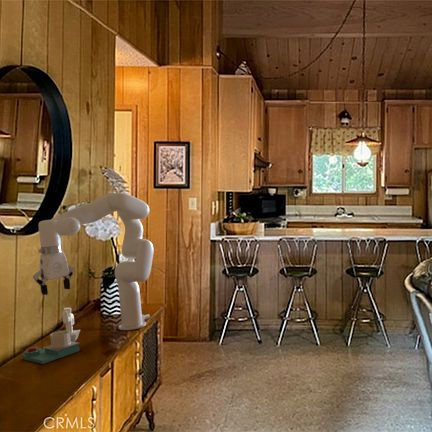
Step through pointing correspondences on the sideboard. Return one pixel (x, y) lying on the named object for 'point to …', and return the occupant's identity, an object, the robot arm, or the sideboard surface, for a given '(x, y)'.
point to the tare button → (32, 349)
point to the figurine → (70, 323)
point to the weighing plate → (63, 349)
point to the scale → (39, 356)
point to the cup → (60, 339)
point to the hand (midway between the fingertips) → (56, 291)
